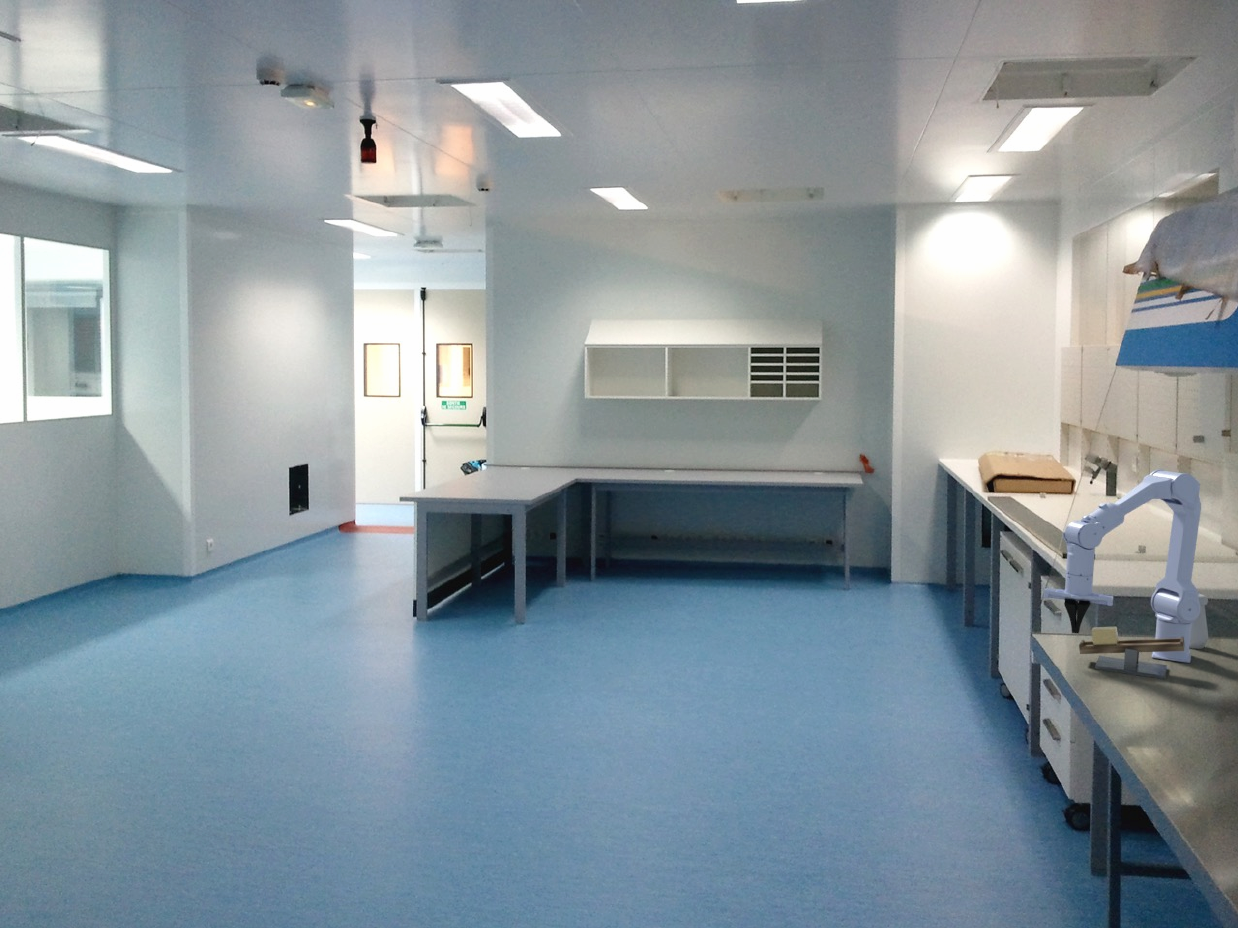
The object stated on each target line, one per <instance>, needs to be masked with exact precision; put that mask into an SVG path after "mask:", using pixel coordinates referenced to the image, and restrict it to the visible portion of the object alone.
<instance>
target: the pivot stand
mask: <svg viewBox="0 0 1238 928" xmlns="http://www.w3.org/2000/svg"><path fill="white" fill-rule="evenodd" d="M1096 660H1097V661H1096V662H1095V665H1094V670H1098V671H1099V670H1100V671H1107V672H1112V673H1113V672H1114V673H1121V674H1127V675H1134V676H1141V677H1146V678H1147V677H1148V678H1154V679H1160V680H1165V679H1166V674H1167V669H1168V665H1167V664H1160V663H1153V662H1147V661H1140V652H1137V650H1136V649H1129V648H1125V653H1124V658H1120V657H1119V658H1118V657H1113V656H1112V657H1111V656H1104V655H1099V656H1098V658H1097V659H1096Z"/></svg>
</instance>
